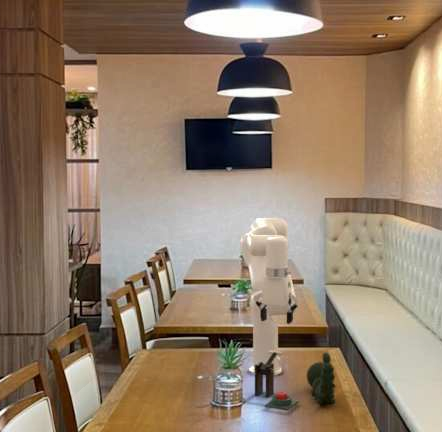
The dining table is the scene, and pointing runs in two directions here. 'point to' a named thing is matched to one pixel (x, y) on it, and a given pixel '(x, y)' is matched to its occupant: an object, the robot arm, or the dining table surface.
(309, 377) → the green bumpy upright shape
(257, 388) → the lever bracket
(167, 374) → the dining table surface
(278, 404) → the console
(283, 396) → the button
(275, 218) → the robot arm
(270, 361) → the press lever
